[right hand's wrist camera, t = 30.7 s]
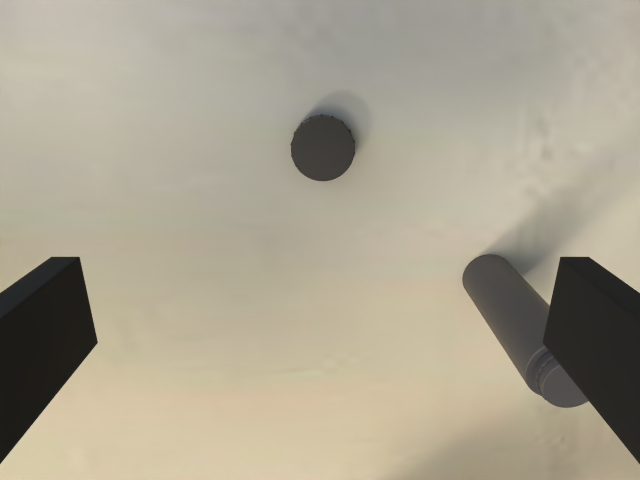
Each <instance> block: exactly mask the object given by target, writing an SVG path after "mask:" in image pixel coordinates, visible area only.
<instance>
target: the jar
mask: <svg viewBox="0 0 640 480" xmlns="http://www.w3.org/2000/svg"><path fill="white" fill-rule="evenodd" d="M463 286H464V288H465V290H466V291H467V293H468V294H469V296H470V298H471V299H472V301H473V302H474V304H475V305H476V307H477V308H478V310H479V311H480V313H481V314H482V316H483V318H484V319H485V321H486V322H487V324H488V325H489V327H490V328H491V330H492V331H493V333H494V334H495V336H496V338H497V339H498V341H499V342H500V344H501V345H502V347H503V348H504V350H505V351H506V353H507V354H508V356H509V358H510V359H511V361H512V362H513V364H514V365H515V367H516V368H517V370H518V371H519V373H520V374H521V376H522V378H523V379H524V381H525V382H526V384H527V385H528V387H529V388H530V389H531V390H532V391H533V392H535V393H537V394H539V395H541V396H542V397H543V398H544V399H545V400H547V401H548V402H549V403H551V404H553V405H555V406H558V407H564V408H570V407H575V406H579V405H582V404H584V403H586V402H587V401H589V400H588V399H587V398H586V396H585V395H584V394H583V393H582V391H581V390H580V389H579V388H578V386H577V385H576V384H575V383H574V382H573V380H572V379H571V378H570V377H569V375H568V374H567V373H566V372H565V370H564V369H563V368H562V367H561V365H560V364H559V363H558V362H557V360H556V359H555V358H554V357H553V355H552V354H551V353H550V352H549V350H548V349H547V348H546V347H545V345H544V344H543V343H542V342H543V337H544V332H545V328H546V323H547V318H548V314H549V309H550V306H549V305H548V304H547V303H546V301H545V300H544V299H543V298H542V297H541V296H540V295H539V294H538V293H537V292H536V291H535V290H534V289H533V288H532V287H531V286H530V285H529V284H528V283H527V282H526V281H525V280H524V279H523V277H522V276H521V275H520V274H519V273H518V272H517V271H516V270H515V269H514V268H513V267H512V266H511V265H510V264H509V263H508V262H507V261H506V260H505V259H504V258H502V257H500V256H496V255H484V256H481V257H478V258H476V259H475V260H473V261H472V262H471V263H470V264H469V265H468V266H467V268H466V269H465V271H464V274H463Z"/></svg>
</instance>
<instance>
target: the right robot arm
mask: <svg viewBox="0 0 640 480" xmlns="http://www.w3.org/2000/svg"><path fill="white" fill-rule="evenodd" d="M97 343H98V342H97V337H96V332H95V328H94V323H93V318H92V314H91V309H90V304H89V299H88V295H87V290H86V285H85V281H84V276H83V271H82V267H81V262H80V257H51V258H49V259H48V260H46V261H45V262H44V263H42V264H41V265H39V266H38V267H37V268H35V269H34V270H32V271H31V272H29V273H28V274H27V275H25V276H24V277H22V278H21V279H20V280H18V281H17V282H15V283H14V284H13V285H11V286H10V287H8V288H7V289H6V290H4V291H3V292H1V293H0V464H1V462H2V461H3V460H4V459H5V457H6V456H7V455H8V454H9V452H10V451H11V450H12V449H13V447H14V446H15V445H16V444H17V442H18V441H19V440H20V439H21V438H22V436H23V435H24V434H25V433H26V431H27V430H28V429H29V428H30V426H31V425H32V424H33V423H34V421H35V420H36V419H37V418H38V416H39V415H40V414H41V413H42V411H43V410H44V409H45V408H46V406H47V405H48V404H49V403H50V401H51V400H52V399H53V398H54V396H55V395H56V394H57V393H58V391H59V390H60V389H61V388H62V386H63V385H64V384H65V383H66V382H67V380H68V379H69V378H70V377H71V375H72V374H73V373H74V372H75V370H76V369H77V368H78V367H79V365H80V364H81V363H82V362H83V360H84V359H85V358H86V357H87V355H88V354H89V353H90V352H91V350H92V349H93V348H94V347H95V345H96V344H97ZM542 343H543V344H544V345H545V347H546V348H547V349H548V350H549V352H550V353H551V354H552V355H553V357H554V358H555V359H556V360H557V362H558V363H559V364H560V365H561V367H562V368H563V369H564V370H565V372H566V373H567V374H568V375H569V377H570V378H571V379H572V380H573V382H574V383H575V384H576V385H577V386H578V388H579V389H580V390H581V391H582V393H583V394H584V395H585V396H586V398H587V399H588V400H589V401H590V403H591V404H592V405H593V406H594V408H595V409H596V410H597V411H598V413H599V414H600V415H601V416H602V418H603V419H604V420H605V421H606V423H607V424H608V425H609V426H610V428H611V429H612V430H613V431H614V433H615V434H616V435H617V436H618V438H619V439H620V440H621V441H622V442H623V444H624V445H625V446H626V447H627V449H628V450H629V451H630V452H631V454H632V455H633V456H634V457H635V459H636V460H637V461H638V462H639V464H640V293H639V292H637V291H636V290H634V289H633V288H632V287H630V286H629V285H627V284H626V283H625V282H623V281H622V280H620V279H619V278H618V277H616V276H615V275H613V274H612V273H611V272H609V271H608V270H606V269H605V268H603V267H602V266H601V265H599V264H598V263H596V262H595V261H594V260H592V259H591V258H589V257H560V262H559V267H558V271H557V276H556V281H555V285H554V290H553V295H552V299H551V304H550V309H549V314H548V318H547V323H546V328H545V332H544V337H543V342H542Z"/></svg>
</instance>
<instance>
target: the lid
mask: <svg viewBox="0 0 640 480" xmlns="http://www.w3.org/2000/svg"><path fill="white" fill-rule="evenodd" d="M350 132H351V131H350V129H349V130H348V128H347V127H346V126H345V124H344V123H343V121H340V120H338V119H336V118H334V117H333V116H332V117H331V116H326V115H322V114H321V115H319V116H314V117H310V118H309V119H307V120H306V121H304V122H303V123H301V124H300V126H299V128H298V129H297V131H296V132H294V137H293V140H292V142H291V154H292V155H291V156H292V158H293V161H294V163H295V165H296V167H297V168H298V170H299V171H300V172H301V173H302V174H304V175H305V176H307V177H308V178H311V179H313V180H317V181H328V180H332V179H335V178H337V177H339V176H341V175H342V174H343V173H344V172H345V171H346V170H347V169H348V168H349V166H350V165H351V163H352V160H353V157H354V154H355V152H354V149H355V147H354V143H355V142H354V139H353V138H352V135H351V133H350Z"/></svg>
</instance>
